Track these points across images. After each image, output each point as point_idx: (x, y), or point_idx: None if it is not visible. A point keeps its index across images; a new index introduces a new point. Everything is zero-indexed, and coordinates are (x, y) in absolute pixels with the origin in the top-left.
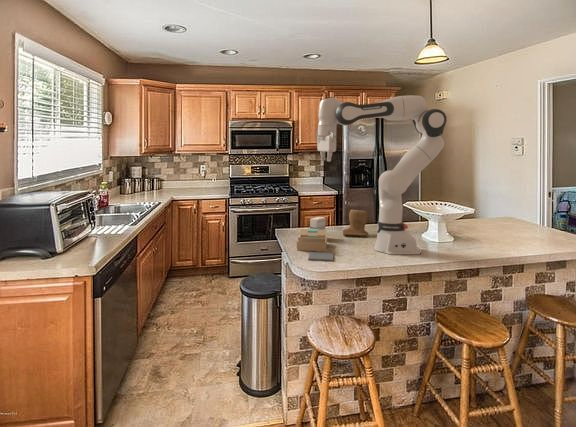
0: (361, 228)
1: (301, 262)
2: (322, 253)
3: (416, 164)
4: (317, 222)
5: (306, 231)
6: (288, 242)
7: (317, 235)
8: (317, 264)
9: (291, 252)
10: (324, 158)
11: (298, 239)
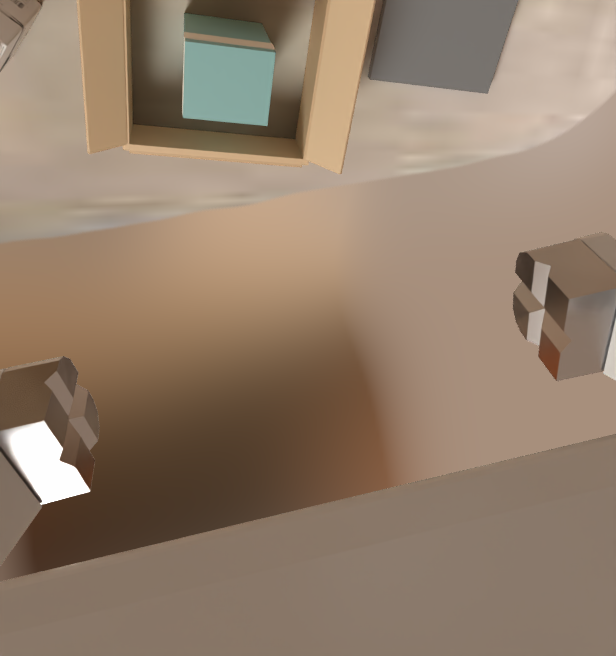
0: None
1: (510, 125)
2: (406, 2)
3: None
4: (5, 34)
5: (104, 111)
6: (130, 194)
7: (225, 36)
8: (557, 46)
9: None
10: (63, 410)
11: (325, 164)
